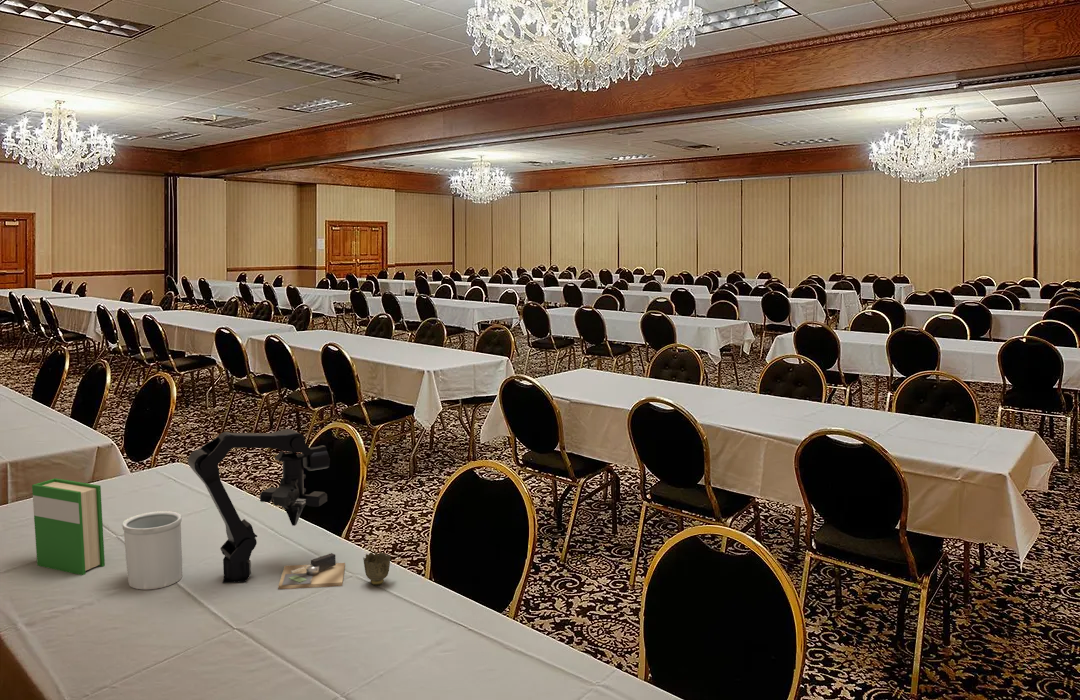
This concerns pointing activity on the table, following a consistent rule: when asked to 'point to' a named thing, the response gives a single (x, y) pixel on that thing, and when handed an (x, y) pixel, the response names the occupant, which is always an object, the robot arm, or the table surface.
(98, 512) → the hardback book
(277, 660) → the table surface
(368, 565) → the cup
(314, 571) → the peg knob
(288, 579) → the tuner board
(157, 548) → the utensil holder
